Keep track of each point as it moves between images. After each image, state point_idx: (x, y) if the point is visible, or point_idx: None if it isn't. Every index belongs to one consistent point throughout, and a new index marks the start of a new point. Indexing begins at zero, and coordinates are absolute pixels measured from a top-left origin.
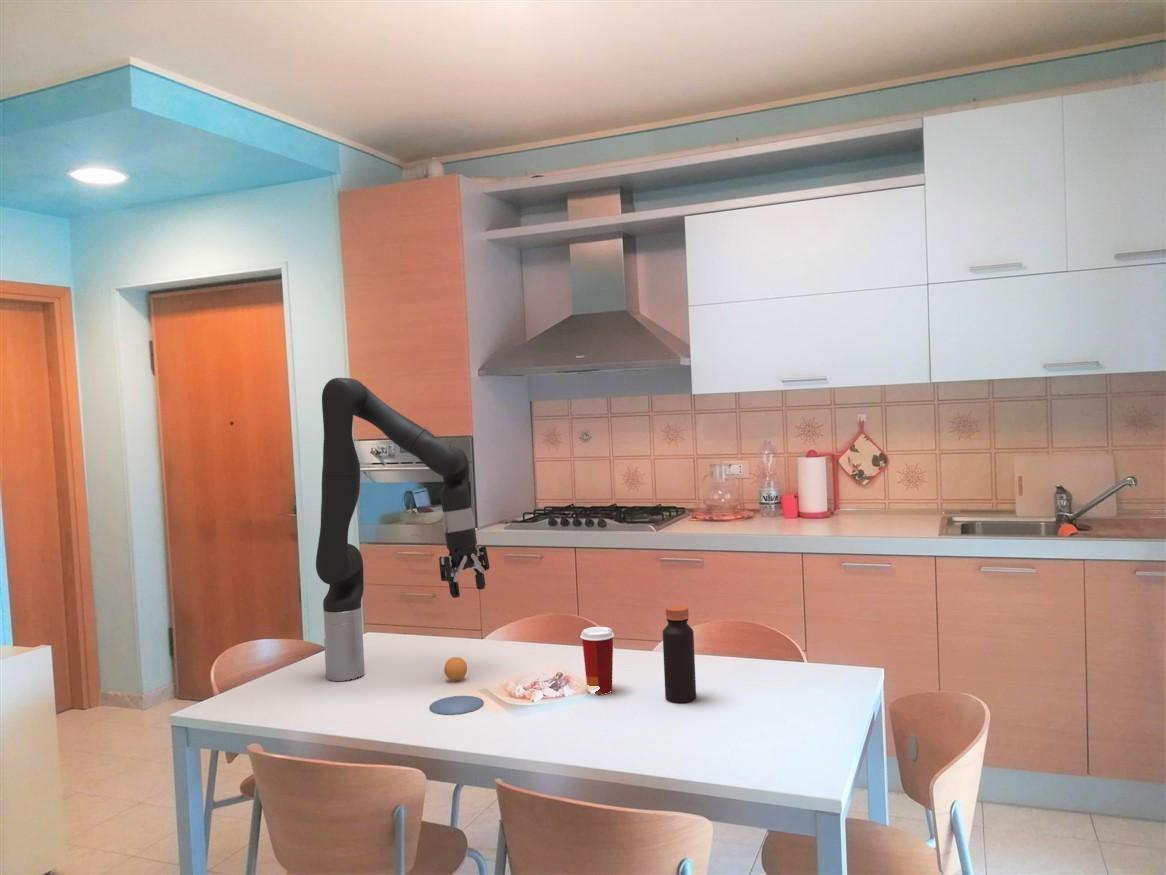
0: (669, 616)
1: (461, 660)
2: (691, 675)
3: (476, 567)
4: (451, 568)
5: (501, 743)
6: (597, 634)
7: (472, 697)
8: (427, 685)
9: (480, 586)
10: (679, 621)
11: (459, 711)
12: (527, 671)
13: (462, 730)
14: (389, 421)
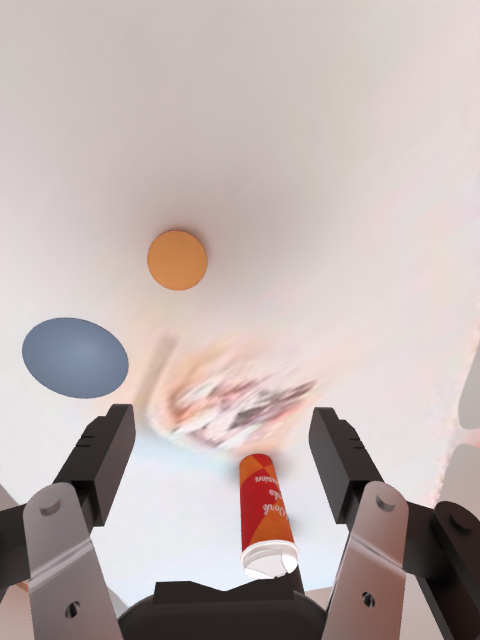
0: None
1: (180, 286)
2: None
3: (329, 598)
4: (51, 628)
5: (36, 483)
6: (249, 576)
7: (121, 359)
8: (112, 218)
9: (315, 439)
10: None
11: (59, 386)
12: (297, 338)
13: (20, 432)
14: None
